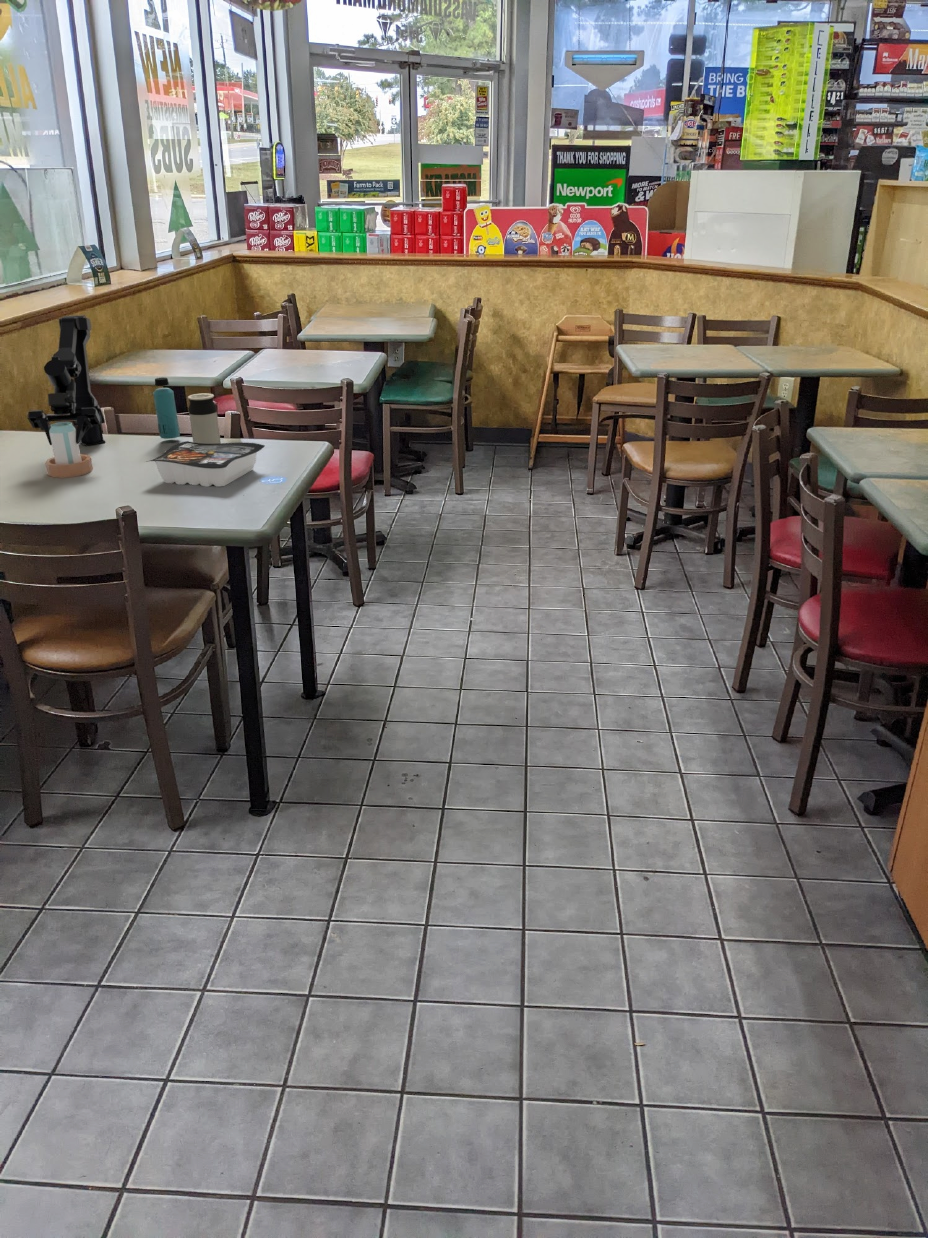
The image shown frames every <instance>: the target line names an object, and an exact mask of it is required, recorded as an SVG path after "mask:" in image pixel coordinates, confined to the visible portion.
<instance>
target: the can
mask: <svg viewBox="0 0 928 1238" xmlns="http://www.w3.org/2000/svg"><path fill="white" fill-rule="evenodd" d="M50 426H51V428H50V430H49V433H50V438H51V443H52V445H51V447H52V452H53V457H54V458H55V463H56V464H58V465H61V464H72V463H78V462H81V461H82V460H81V455H80V454H81V452H80V446H79V444H80V443H79V444H77V443H76V432H77V428H76V426H74V424H73V422H72V421H71V422H70V421H57V422H55V423H52V424H51V423H50Z"/></svg>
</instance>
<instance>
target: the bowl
mask: <svg viewBox="0 0 928 1238" xmlns="http://www.w3.org/2000/svg"><path fill="white" fill-rule="evenodd" d="M80 455H81V460H82V461H81V462H78V463H72V464H61V465H58V464H56V463H55V458H54V456H53V457H51V458H48V459H47V460H46V461H45V462H44V463H45V468H46V469H45V470H46V473H47V475H48V476H50V477H52V478H53V477H54V478H58V479H60V478H62V479H63V478H73V477H77V476H83V475H86V474H88V473H91V472H92V471H93V469H94V466H93V462H92V457H91V456H90V455H88V454H82V453H80Z"/></svg>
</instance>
